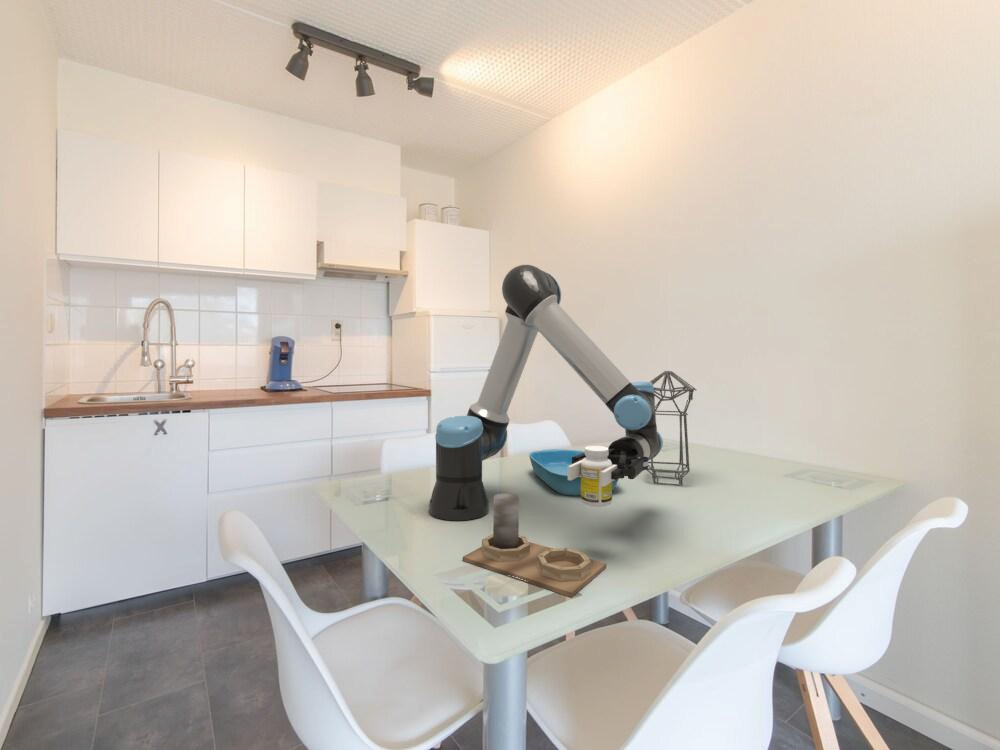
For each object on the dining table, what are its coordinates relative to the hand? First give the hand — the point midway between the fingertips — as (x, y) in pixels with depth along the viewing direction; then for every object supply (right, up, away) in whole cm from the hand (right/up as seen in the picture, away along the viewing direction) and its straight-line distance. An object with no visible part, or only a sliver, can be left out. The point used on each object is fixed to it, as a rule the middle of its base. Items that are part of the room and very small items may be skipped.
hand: (585, 476), depth 93 cm
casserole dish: (+6, -14, +59) cm, 61 cm away
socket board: (-10, -17, 0) cm, 20 cm away
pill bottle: (+3, -6, +5) cm, 8 cm away
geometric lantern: (+36, -14, +62) cm, 73 cm away
